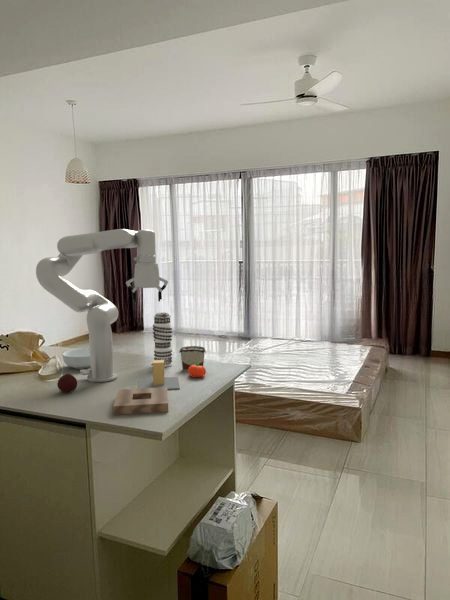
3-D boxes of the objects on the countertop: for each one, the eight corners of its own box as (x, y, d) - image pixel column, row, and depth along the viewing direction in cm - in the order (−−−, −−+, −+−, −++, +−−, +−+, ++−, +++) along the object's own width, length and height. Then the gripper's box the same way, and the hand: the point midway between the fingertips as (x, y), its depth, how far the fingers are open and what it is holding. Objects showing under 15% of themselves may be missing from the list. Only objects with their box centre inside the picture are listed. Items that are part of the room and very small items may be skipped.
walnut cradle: (113, 415, 145) (113, 406, 145) (118, 397, 163) (118, 389, 163) (168, 411, 148) (168, 403, 148) (167, 394, 166) (167, 387, 165)
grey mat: (138, 391, 170) (138, 390, 170) (139, 379, 186) (139, 378, 186) (179, 389, 172) (179, 387, 172) (177, 378, 188) (177, 376, 188)
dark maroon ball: (56, 396, 165) (55, 378, 164) (58, 389, 173) (57, 372, 172) (77, 394, 167) (76, 376, 166) (78, 388, 175) (77, 371, 174)
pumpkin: (194, 374, 195) (196, 360, 195) (208, 377, 190) (209, 363, 190) (183, 376, 190) (184, 361, 190) (197, 379, 185) (198, 364, 185)
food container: (207, 366, 206) (207, 345, 205) (206, 370, 200) (205, 348, 199) (182, 366, 208) (181, 345, 206) (179, 369, 201) (179, 348, 200)
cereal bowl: (55, 370, 203) (54, 355, 202) (77, 361, 218) (76, 347, 218) (87, 372, 198) (86, 357, 197) (107, 363, 213) (107, 349, 213)
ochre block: (153, 384, 176) (152, 363, 175) (153, 381, 181) (152, 360, 180) (164, 384, 177) (164, 362, 176) (164, 381, 181) (163, 359, 180)
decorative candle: (150, 363, 213) (149, 312, 210) (168, 361, 217) (167, 311, 214) (157, 368, 204) (155, 315, 202) (175, 365, 209) (174, 313, 206)
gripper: (124, 260, 176) (125, 302, 178) (167, 260, 178) (168, 301, 180) (125, 260, 183) (126, 301, 185) (167, 259, 186) (168, 300, 188)
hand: (147, 301), depth 183 cm, fingers open, 9 cm apart
